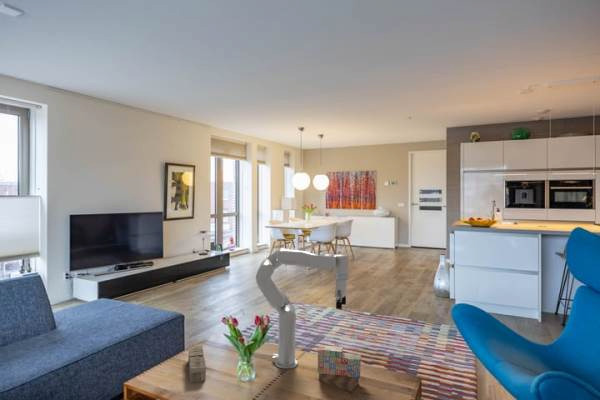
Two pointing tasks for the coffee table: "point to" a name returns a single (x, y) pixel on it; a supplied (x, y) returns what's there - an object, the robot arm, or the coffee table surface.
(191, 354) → the block tower
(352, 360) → the stack of blocks
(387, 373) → the coffee table surface
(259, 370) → the coffee table surface
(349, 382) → the walnut block
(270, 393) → the coffee table surface
